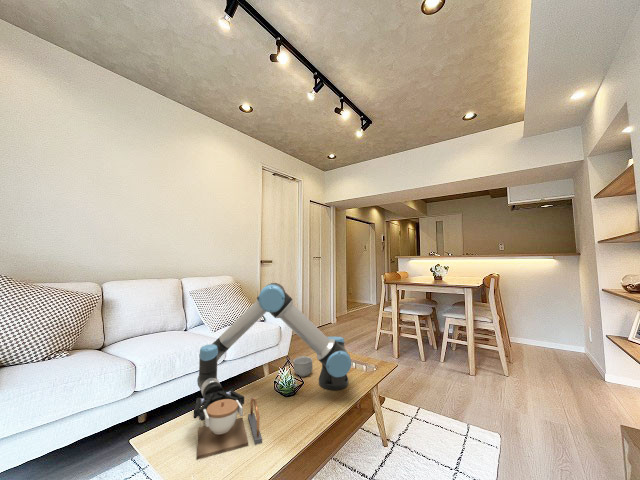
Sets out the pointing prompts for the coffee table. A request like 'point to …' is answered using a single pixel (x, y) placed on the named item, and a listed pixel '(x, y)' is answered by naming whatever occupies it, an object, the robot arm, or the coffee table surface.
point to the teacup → (302, 366)
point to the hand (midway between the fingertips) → (225, 417)
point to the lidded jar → (222, 415)
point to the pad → (221, 440)
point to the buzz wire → (256, 413)
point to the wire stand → (254, 428)
